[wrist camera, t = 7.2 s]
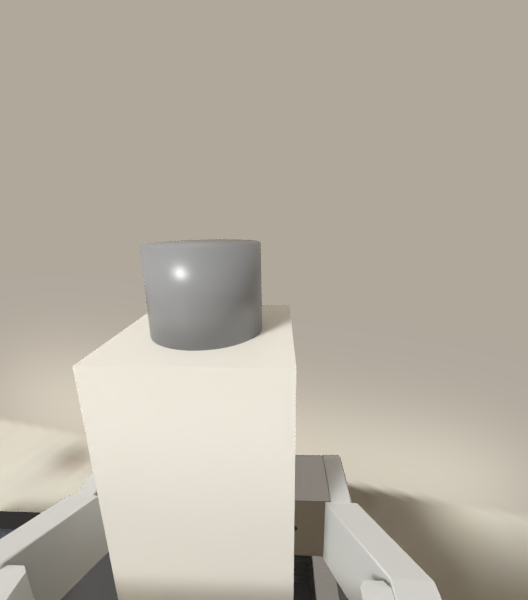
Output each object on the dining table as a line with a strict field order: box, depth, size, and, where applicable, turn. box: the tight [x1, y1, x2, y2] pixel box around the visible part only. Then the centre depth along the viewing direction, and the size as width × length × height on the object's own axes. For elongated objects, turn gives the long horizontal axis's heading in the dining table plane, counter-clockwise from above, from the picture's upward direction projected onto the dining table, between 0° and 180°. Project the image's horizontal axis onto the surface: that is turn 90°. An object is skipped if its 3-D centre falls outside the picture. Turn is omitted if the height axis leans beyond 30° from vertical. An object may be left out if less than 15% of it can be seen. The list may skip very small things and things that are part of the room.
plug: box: [73, 240, 296, 600], centre depth 9 cm, size 4×4×15 cm
